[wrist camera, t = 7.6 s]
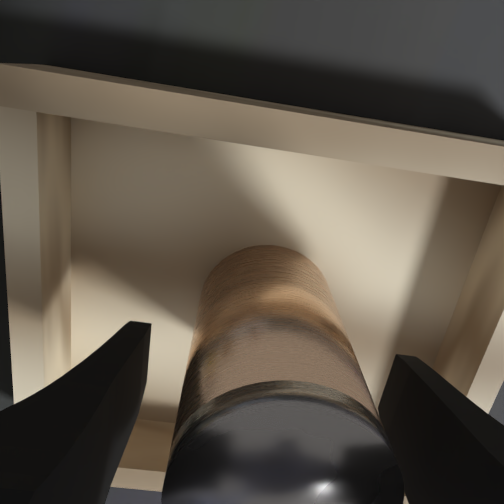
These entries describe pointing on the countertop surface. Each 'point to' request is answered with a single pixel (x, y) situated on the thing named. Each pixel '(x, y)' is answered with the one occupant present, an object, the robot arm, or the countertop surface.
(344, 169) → the tray
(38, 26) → the countertop surface
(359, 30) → the countertop surface
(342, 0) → the countertop surface
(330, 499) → the can
